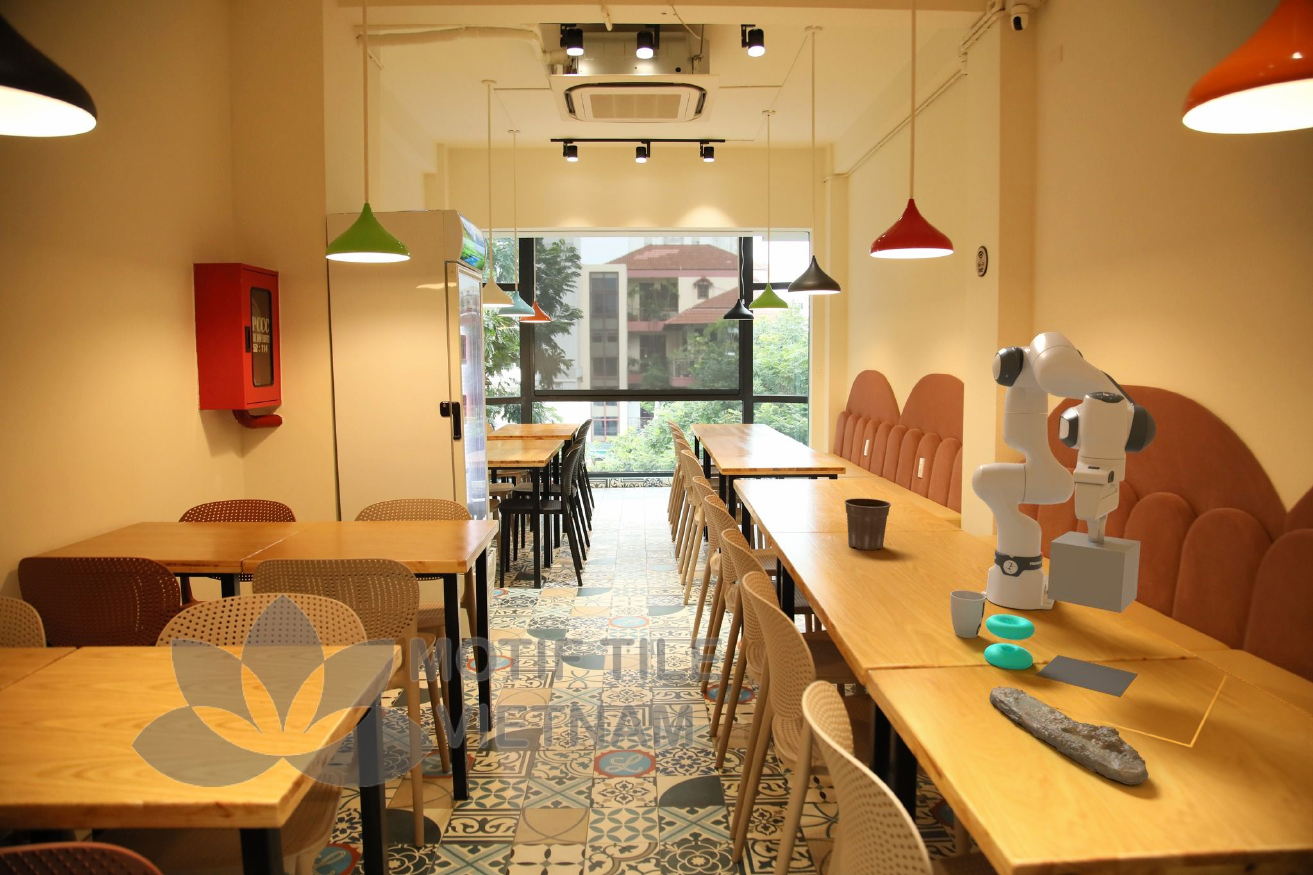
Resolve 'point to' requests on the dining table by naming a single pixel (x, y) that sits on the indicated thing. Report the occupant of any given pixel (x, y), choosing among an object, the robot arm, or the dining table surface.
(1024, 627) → the donuts
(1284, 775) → the dining table surface
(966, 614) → the cup
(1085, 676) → the mat
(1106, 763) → the elongated rock
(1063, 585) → the cover
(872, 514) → the plant pot
